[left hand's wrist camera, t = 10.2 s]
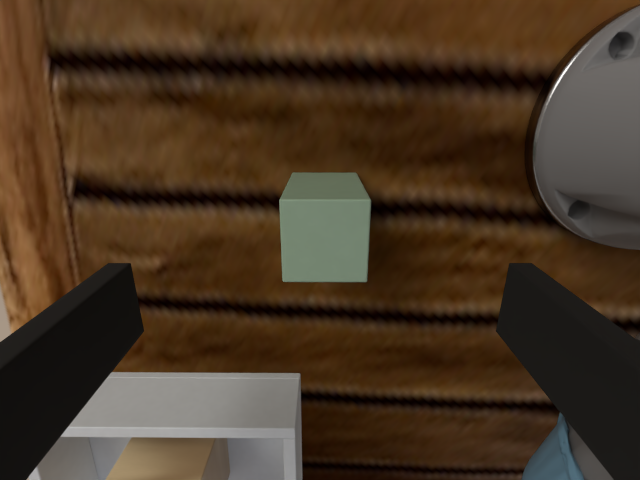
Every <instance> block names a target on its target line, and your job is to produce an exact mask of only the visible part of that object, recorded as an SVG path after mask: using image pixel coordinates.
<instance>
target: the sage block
mask: <svg viewBox="0 0 640 480" xmlns="http://www.w3.org/2000/svg"><path fill="white" fill-rule="evenodd" d="M279 206H280V231H281V256H282V280H283V282H367V276H368V255H369V235H370V215H371V199H370V197H369V195H368V194H367V192H366V190H365V188H364V186H363V184H362V182H361V181H360V179H359V177H358V175H357V173H292V175H291V177H290V179H289V181H288V183H287V185H286V187H285V190H284V192H283V194H282V196H281V198H280V200H279Z"/></svg>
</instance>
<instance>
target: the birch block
mask: <svg viewBox="0 0 640 480" xmlns="http://www.w3.org/2000/svg"><path fill="white" fill-rule="evenodd" d="M229 475H230V464H229V454H228V443H227V438H150V437H132V438H131V439H130V441H129V442H128V444H127V446H126V447H125V449H124V450H123V452H122V454H121V455H120V457H119V459H118V460H117V462H116V463H115V465H114V467H113V468H112V470H111V471H110V473H109V475H108V476H107V478H106V479H105V480H228V478H229Z"/></svg>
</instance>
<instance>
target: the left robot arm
mask: <svg viewBox="0 0 640 480" xmlns="http://www.w3.org/2000/svg"><path fill="white" fill-rule="evenodd" d="M525 166H526V172H527V177H528V181H529V185H530V187H531V190H532V192H533V195H534V197H535V198H536V200H537V202H538V204H539V205H540V206H541V208H542V209H543V211H544V212H545V213H546V214H547V215H548V216H549V217H550V218H551V219H552V220H553V221H555V222H556V223H557V224H559V225H560V226H562V227H563V228H565V229H567V230H569V231H571V232H573V233H575V234H577V235H579V236H581V237H583V238H585V239H588V240H590V241H593V242H596V243H600V244H604V245H608V246H612V247H617V248H625V249H637V250H640V4H639V5H636V6H633V7H631V8H628V9H626V10H624V11H622V12H620V13H618V14H616V15H614V16H613V17H611V18H609V19H608V20H606V21H604V22H603V23H601V24H600V25H599V26H597V27H596V28H594V29H593V30H592V31H591V32H589V33H588V34H587V35H586V36H585V37H583V38H582V39H581V40H580V41H579V42H578V43H577V44H576V45H575V46H574V47H573V48H572V49H571V50H570V51H569V52H568V53H567V54H566V55H565V57H564V58H563V59H562V60H561V61H560V63H559V64H558V65H557V67H556V68H555V69H554V71H553V72H552V74H551V75H550V77H549V78H548V80H547V81H546V83H545V85H544V87H543V89H542V91H541V92H540V94H539V96H538V99H537V101H536V103H535V106H534V108H533V111H532V114H531V117H530V121H529V125H528V129H527V135H526V142H525ZM143 332H144V329H143V324H142V319H141V313H140V308H139V303H138V298H137V293H136V288H135V283H134V278H133V273H132V268H131V263H108V264H107V265H105V266H104V267H103V268H101V269H100V270H99V271H97V272H96V273H94V274H93V275H92V276H90V277H89V278H88V279H86V280H85V281H83V282H82V283H81V284H79V285H78V286H77V287H75V288H74V289H73V290H71V291H70V292H68V293H67V294H66V295H64V296H63V297H62V298H60V299H59V300H57V301H56V302H55V303H53V304H52V305H51V306H49V307H48V308H47V309H45V310H44V311H42V312H41V313H40V314H38V315H37V316H36V317H34V318H33V319H31V320H30V321H29V322H27V323H26V324H25V325H23V326H22V327H20V328H19V329H18V330H16V331H15V332H14V333H12V334H11V335H10V336H8V337H7V338H5V339H4V340H3V341H1V342H0V480H26V479H27V478H28V477H29V476H30V474H31V473H32V472H33V471H34V469H35V468H36V467H37V466H38V464H39V463H40V462H41V460H42V459H43V458H44V457H45V455H46V454H47V453H48V452H49V450H50V449H51V448H52V447H53V445H54V444H55V443H56V442H57V440H58V439H59V438H60V436H61V435H62V434H63V433H64V431H65V430H66V429H67V428H68V426H69V425H70V424H71V423H72V421H73V420H74V419H75V418H76V416H77V415H78V414H79V413H80V411H81V410H82V409H83V407H84V406H85V405H86V404H87V402H88V401H89V400H90V399H91V397H92V396H93V395H94V394H95V392H96V391H97V390H98V389H99V387H100V386H101V385H102V383H103V382H104V381H105V380H106V378H107V377H108V376H109V375H110V373H111V372H112V371H113V370H114V368H115V367H116V366H117V365H118V363H119V362H120V361H121V359H122V358H123V357H124V356H125V354H126V353H127V352H128V351H129V349H130V348H131V347H132V346H133V344H134V343H135V342H136V341H137V339H138V338H139V337H140V335H141V334H142V333H143ZM496 332H497V333H498V334H499V335H500V337H501V338H502V339H503V341H504V342H505V343H506V344H507V346H508V347H509V348H510V349H511V351H512V352H513V353H514V354H515V356H516V357H517V358H518V359H519V361H520V362H521V363H522V365H523V366H524V367H525V368H526V370H527V371H528V372H529V373H530V375H531V376H532V377H533V378H534V380H535V381H536V382H537V383H538V385H539V386H540V387H541V389H542V390H543V391H544V392H545V394H546V395H547V396H548V397H549V399H550V400H551V401H552V402H553V404H554V405H555V406H556V407H557V409H558V410H559V411H560V413H559V418H558V422H557V425H556V426H555V428H554V429H553V430H552V431H551V433H550V434H549V435H548V437H547V438H546V439H545V440H544V442H543V443H542V444H541V446H540V447H539V448H538V449H537V451H536V452H535V453H534V455H533V456H532V457H531V458H530V460H529V462H528V463H527V465H526V467H525V470H524V472H523V476H522V480H640V333H639V334H638V335H637V336H636V337H635V338H633V337H632V336H630V335H629V334H628V333H626V332H625V331H624V330H622V329H621V328H620V327H618V326H617V325H615V324H614V323H613V322H611V321H610V320H609V319H607V318H606V317H604V316H603V315H602V314H600V313H599V312H598V311H596V310H595V309H593V308H592V307H591V306H589V305H588V304H587V303H585V302H584V301H583V300H581V299H580V298H578V297H577V296H576V295H574V294H573V293H572V292H570V291H569V290H567V289H566V288H565V287H563V286H562V285H561V284H559V283H558V282H557V281H555V280H554V279H552V278H551V277H550V276H548V275H547V274H546V273H544V272H543V271H541V270H540V269H539V268H537V267H536V266H535V265H533V264H532V263H509V268H508V273H507V278H506V283H505V288H504V293H503V298H502V303H501V308H500V313H499V319H498V324H497V329H496Z"/></svg>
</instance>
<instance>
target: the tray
mask: <svg viewBox="0 0 640 480" xmlns="http://www.w3.org/2000/svg"><path fill="white" fill-rule="evenodd" d="M132 437H150V438H227V443H228V454H229V464H230V475H229V478H228V480H302V433H301V380H300V373H168V372H111V373H110V375H109V376H108V377H107V378H106V380H105V381H104V382H103V383H102V385H101V386H100V387H99V389H98V390H97V391H96V392H95V394H94V395H93V396H92V397H91V399H90V400H89V401H88V402H87V404H86V405H85V406H84V407H83V409H82V410H81V411H80V413H79V414H78V415H77V416H76V418H75V419H74V420H73V421H72V423H71V424H70V425H69V426H68V428H67V429H66V430H65V431H64V433H63V434H62V435H61V436H60V438H59V439H58V440H57V442H56V443H55V444H54V445H53V447H52V448H51V449H50V450H49V452H48V453H47V454H46V455H45V457H44V458H43V459H42V460H41V462H40V463H39V464H38V466H37V467H36V468H35V469H34V471H33V472H32V473H31V474H30V476H29V480H105V479H106V478H107V476H108V475H109V473H110V471H111V470H112V468H113V467H114V465H115V463H116V462H117V460H118V459H119V457H120V455H121V454H122V452H123V450H124V449H125V447H126V446H127V444H128V442H129V441H130V439H131V438H132Z"/></svg>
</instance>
